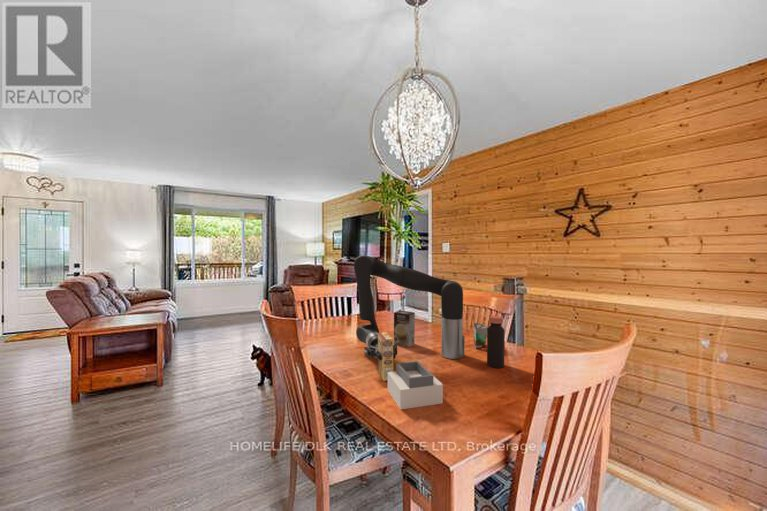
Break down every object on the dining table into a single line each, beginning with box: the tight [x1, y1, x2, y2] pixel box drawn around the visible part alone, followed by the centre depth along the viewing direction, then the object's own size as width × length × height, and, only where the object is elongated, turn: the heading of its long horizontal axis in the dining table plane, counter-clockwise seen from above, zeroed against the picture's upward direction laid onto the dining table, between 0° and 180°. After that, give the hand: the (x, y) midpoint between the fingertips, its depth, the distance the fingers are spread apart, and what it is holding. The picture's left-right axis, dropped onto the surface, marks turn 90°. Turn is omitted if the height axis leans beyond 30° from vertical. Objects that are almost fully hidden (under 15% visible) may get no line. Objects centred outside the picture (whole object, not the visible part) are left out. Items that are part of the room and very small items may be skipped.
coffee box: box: [393, 310, 416, 347], centre depth 160 cm, size 9×6×16 cm
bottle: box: [486, 315, 506, 369], centre depth 132 cm, size 7×7×20 cm
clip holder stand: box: [387, 360, 444, 411], centre depth 105 cm, size 14×14×9 cm
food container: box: [473, 322, 488, 350], centre depth 156 cm, size 12×6×10 cm, turn 168°
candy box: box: [378, 331, 395, 382], centre depth 120 cm, size 9×4×15 cm, turn 13°
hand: (387, 357), depth 118 cm, fingers closed on candy box, 4 cm apart
